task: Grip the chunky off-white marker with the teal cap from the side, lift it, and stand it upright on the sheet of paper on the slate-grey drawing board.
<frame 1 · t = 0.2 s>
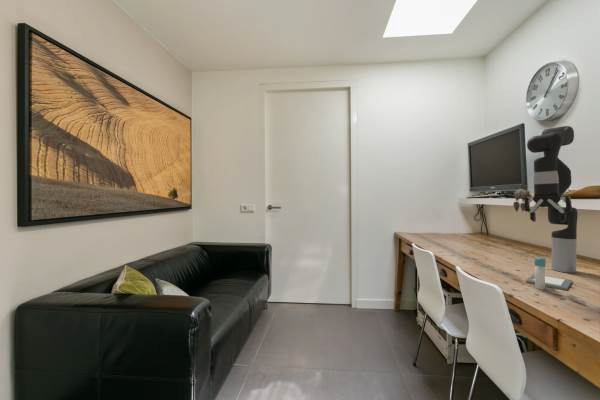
hand: (547, 221, 108), 29 cm above the table, tool pointing down, fingers open, 8 cm apart
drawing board: (549, 282, 118), on the table
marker: (539, 288, 111), on the table
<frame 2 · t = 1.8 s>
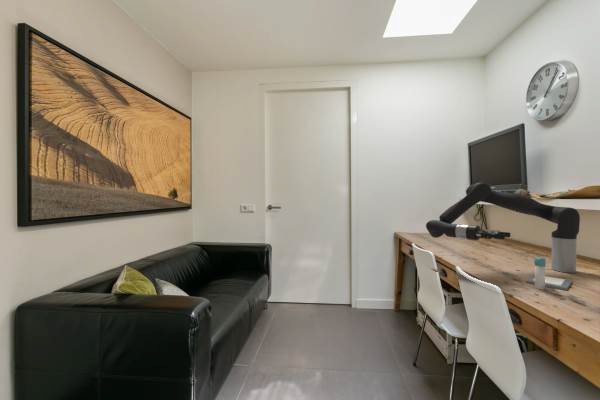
hand: (507, 236, 120), 21 cm above the table, tool horizontal, fingers open, 8 cm apart
nothing on the table moved.
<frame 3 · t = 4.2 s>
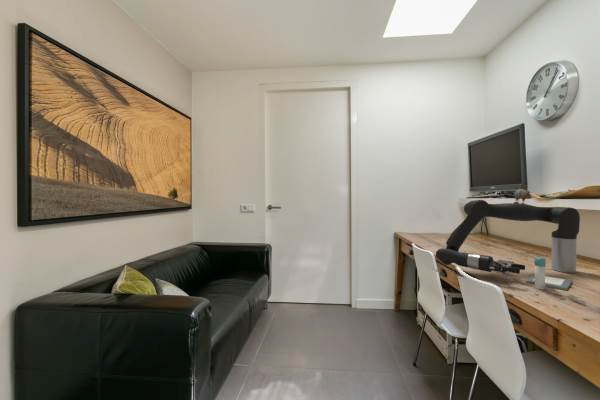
hand: (522, 269, 116), 7 cm above the table, tool horizontal, fingers open, 8 cm apart
nothing on the table moved.
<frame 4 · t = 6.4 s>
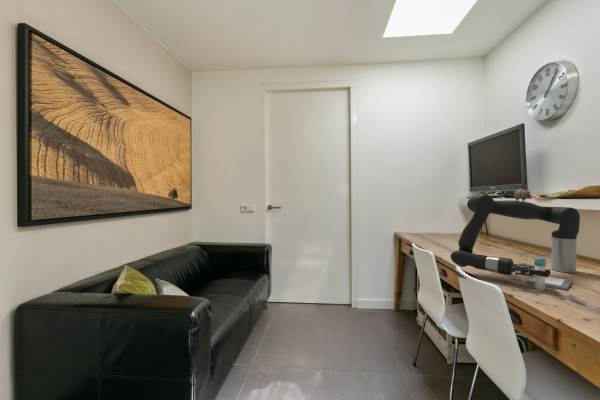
hand: (549, 273, 109), 7 cm above the table, tool horizontal, fingers closed on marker, 3 cm apart
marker: (539, 288, 111), on the table, touching gripper
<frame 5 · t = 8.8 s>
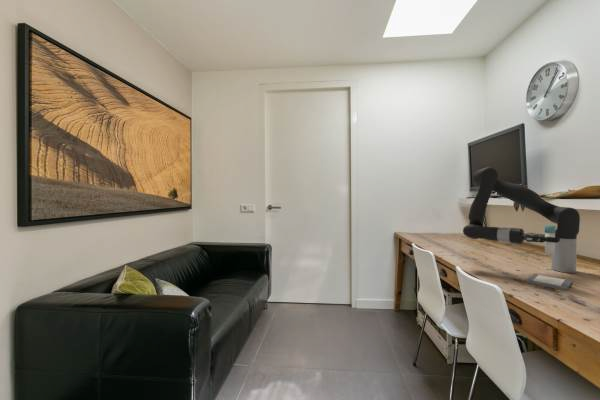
hand: (558, 239, 116), 20 cm above the table, tool horizontal, fingers closed on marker, 3 cm apart
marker: (549, 254, 118), point 13 cm above the table, touching gripper
when the fingers open (10 cm above the table, at t = 11.1 s): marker drops 1 cm, resting on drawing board.
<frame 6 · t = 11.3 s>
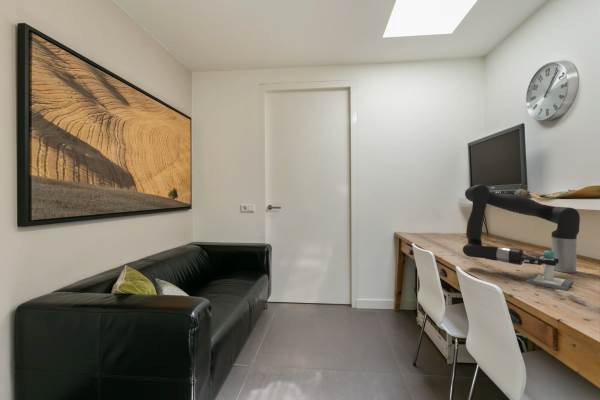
hand: (557, 262, 116), 10 cm above the table, tool horizontal, fingers open, 5 cm apart
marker: (548, 279, 119), point 1 cm above the table, touching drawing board
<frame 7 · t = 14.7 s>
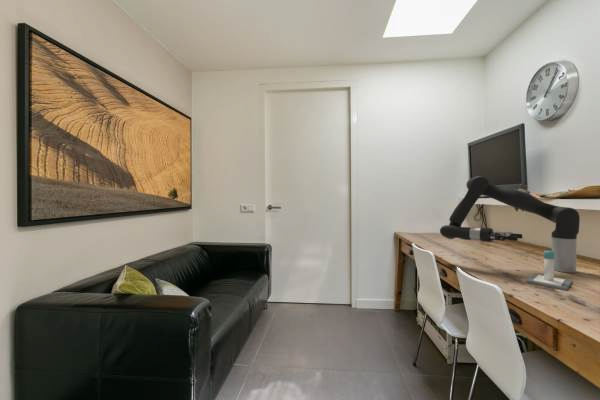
hand: (519, 237, 128), 19 cm above the table, tool horizontal, fingers open, 8 cm apart
nothing on the table moved.
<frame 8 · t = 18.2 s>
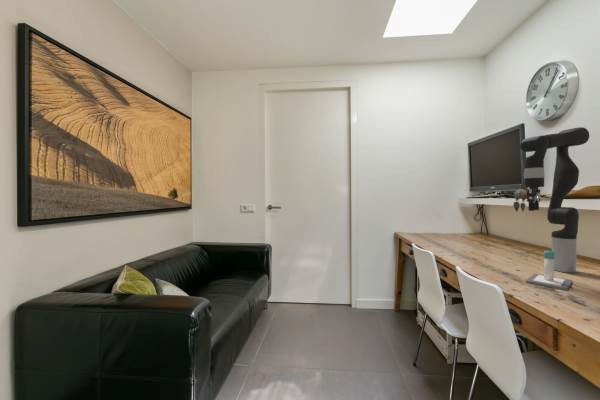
hand: (533, 210, 129), 32 cm above the table, tool pointing down, fingers open, 8 cm apart
nothing on the table moved.
at the end: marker inside the target area on the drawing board (0.1 cm from its centre), point 1.2 cm above the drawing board's base; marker tilted 0°; the gripper is holding nothing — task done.
